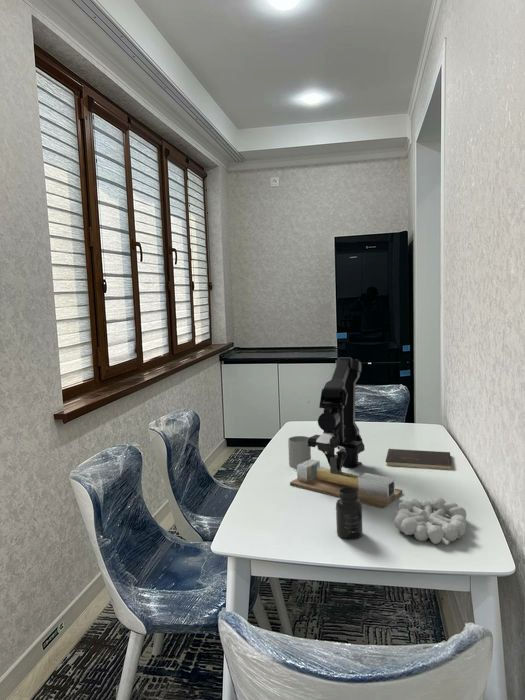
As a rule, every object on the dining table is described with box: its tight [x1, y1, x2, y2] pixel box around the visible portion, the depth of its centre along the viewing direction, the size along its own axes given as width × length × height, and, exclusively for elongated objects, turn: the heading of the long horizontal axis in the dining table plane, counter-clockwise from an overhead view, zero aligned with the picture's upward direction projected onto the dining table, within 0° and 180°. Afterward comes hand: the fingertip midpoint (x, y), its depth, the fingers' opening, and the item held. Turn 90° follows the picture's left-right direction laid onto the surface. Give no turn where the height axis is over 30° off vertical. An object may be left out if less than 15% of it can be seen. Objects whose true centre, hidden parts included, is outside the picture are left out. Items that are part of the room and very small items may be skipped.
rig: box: [296, 458, 396, 500], centre depth 166 cm, size 8×32×5 cm, turn 51°
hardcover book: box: [385, 448, 453, 470], centre depth 191 cm, size 16×23×2 cm
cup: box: [287, 435, 312, 469], centre depth 191 cm, size 8×8×10 cm
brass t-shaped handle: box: [317, 454, 361, 488], centre depth 164 cm, size 3×22×8 cm, turn 51°
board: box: [289, 477, 403, 509], centre depth 166 cm, size 14×34×1 cm, turn 51°
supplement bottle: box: [335, 488, 363, 541], centre depth 134 cm, size 7×7×12 cm
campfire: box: [393, 496, 468, 545], centre depth 137 cm, size 22×21×6 cm
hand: (335, 469), depth 167 cm, fingers closed on brass t-shaped handle, 2 cm apart
